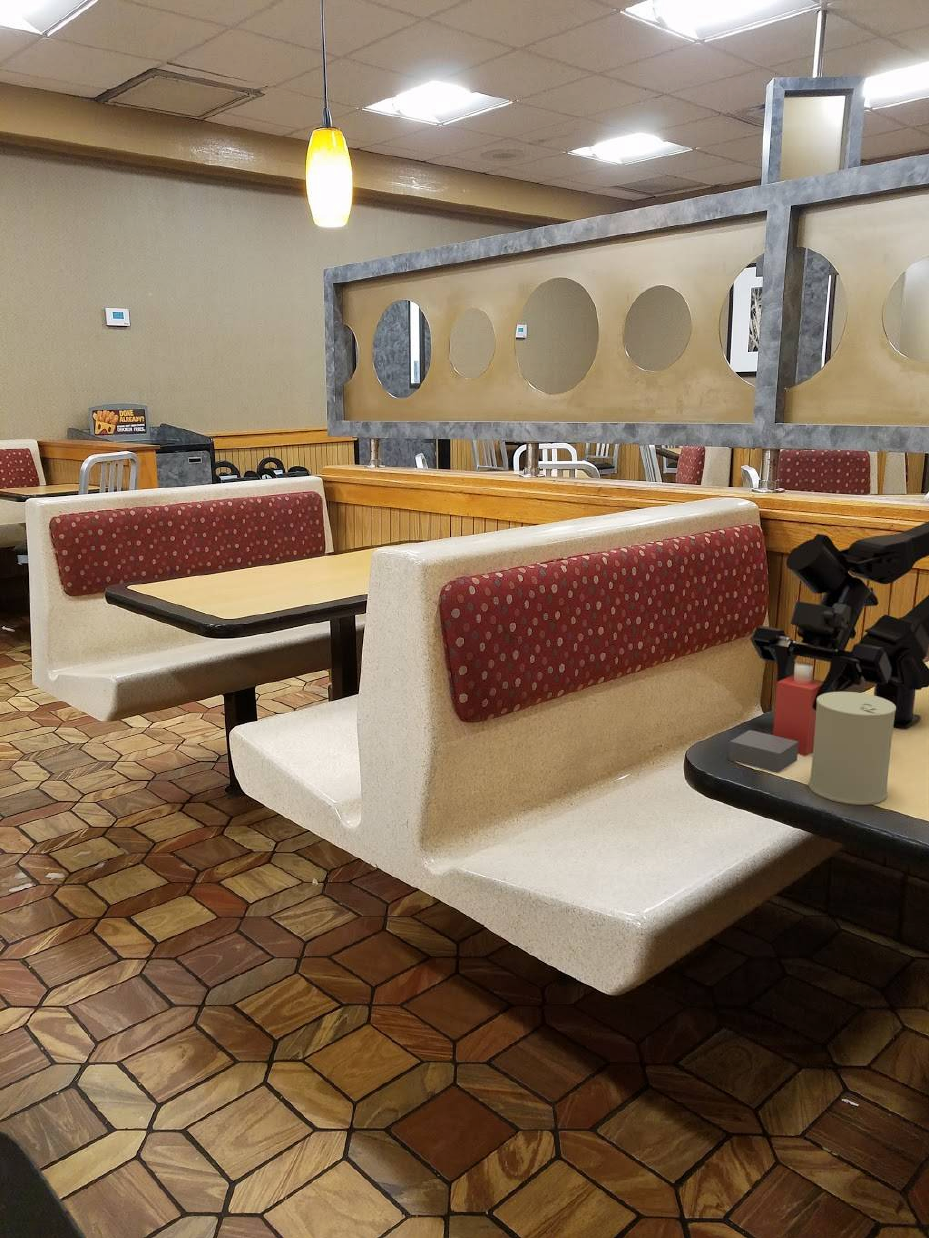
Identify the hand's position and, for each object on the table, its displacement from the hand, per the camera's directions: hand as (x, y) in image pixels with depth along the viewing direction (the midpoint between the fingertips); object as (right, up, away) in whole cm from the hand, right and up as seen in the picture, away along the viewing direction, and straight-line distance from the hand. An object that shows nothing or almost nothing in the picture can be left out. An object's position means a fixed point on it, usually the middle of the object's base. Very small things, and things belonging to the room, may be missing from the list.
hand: (796, 703), depth 134 cm
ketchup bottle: (+1, -6, +2) cm, 7 cm away
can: (+2, -10, -12) cm, 16 cm away
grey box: (-5, -8, -2) cm, 10 cm away
